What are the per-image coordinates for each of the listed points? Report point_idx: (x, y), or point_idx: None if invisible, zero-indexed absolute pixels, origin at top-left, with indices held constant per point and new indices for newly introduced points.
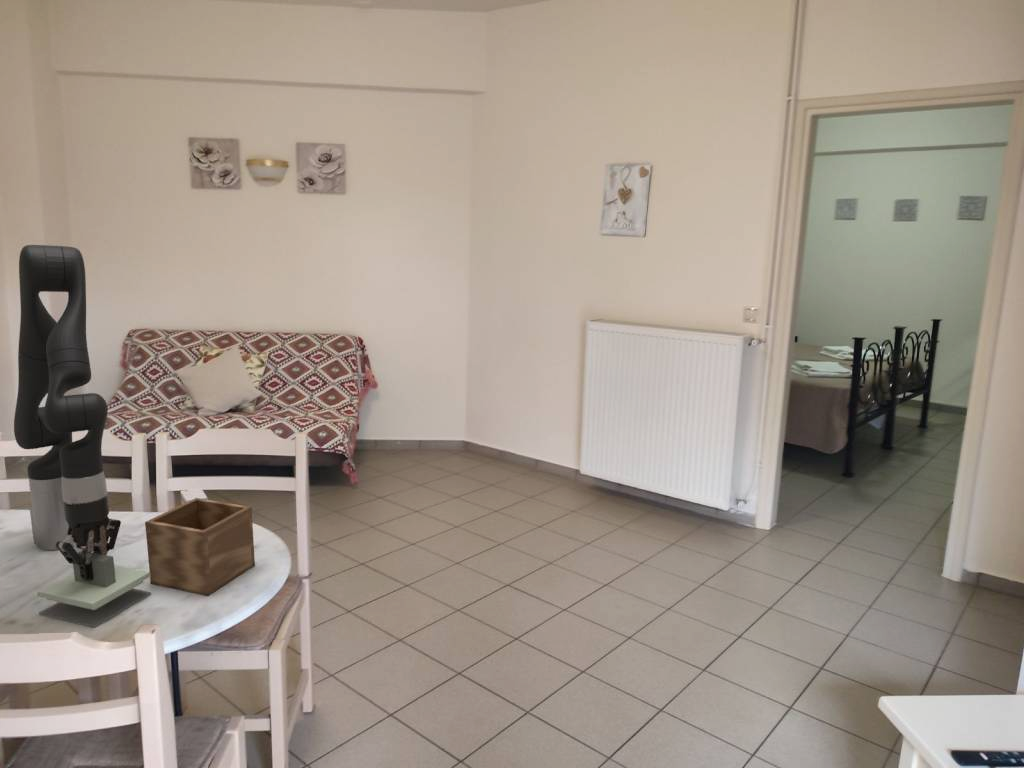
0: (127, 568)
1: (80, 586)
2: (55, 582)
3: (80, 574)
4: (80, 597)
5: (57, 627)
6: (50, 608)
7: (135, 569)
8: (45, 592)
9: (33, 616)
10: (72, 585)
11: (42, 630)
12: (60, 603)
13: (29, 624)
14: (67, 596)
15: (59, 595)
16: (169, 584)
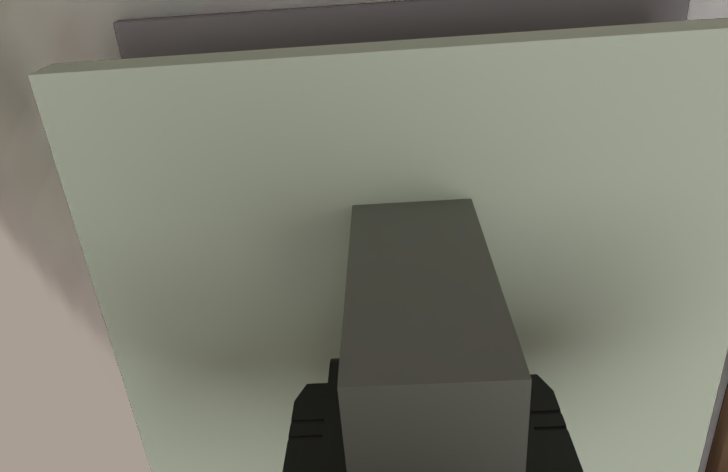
0: (700, 397)
1: (300, 330)
2: (240, 59)
3: (293, 419)
4: (188, 454)
5: None
6: (194, 49)
7: (698, 451)
8: (69, 164)
9: (80, 8)
10: (281, 259)
11: (34, 230)
12: (280, 46)
13: (12, 90)
14: (143, 374)
15: (114, 314)
16: (722, 462)
